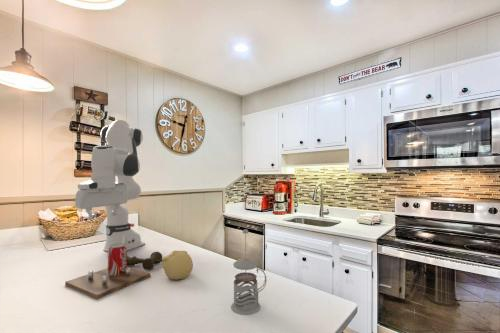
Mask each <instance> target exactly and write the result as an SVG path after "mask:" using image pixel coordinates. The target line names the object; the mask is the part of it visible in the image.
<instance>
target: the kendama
mask: <svg viewBox="0 0 500 333" xmlns="http://www.w3.org/2000/svg"><path fill="white" fill-rule="evenodd" d="M162 259H163V255H162V253H161V252H160V251H152V252H151V254H150V257H148V258H138V257H137V256H136V255H134V256H129V255H127V267H129V266H131V267H134V266H137V265H140V264H141V265H142V266H141V267H142V269H143V270H145V271H151V270H153V269H154V267H155V265H159V264H160V263H163V262H162ZM158 263H159V264H158Z"/></svg>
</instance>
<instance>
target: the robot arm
mask: <svg viewBox="0 0 500 333" xmlns="http://www.w3.org/2000/svg"><path fill="white" fill-rule="evenodd" d="M100 138H101V141H102V143H104V144H107V145H96V146H94V147H93V149H92V151H91V152H92V153H91V161H90V162H91V163H90V164H91V165H90V166H91V170H92V172H91V175H90V179H89V180H87V181H83V182H80V183H78V184H77V189H78V190H77V192H75V193H76V194H75V198H74V199H75V200H74V201H75V202H74V206H75V208H76V209H79V210H83V209H84V210H85V212H86V214H87V215H88V219H89V220H94V219H95V217H96V215H95V214H94V213H93V212H92V210H93V208H99V207H101V208H102V207H104V208H105V211H106V225H105V234H106V236H105V243H104V247H103V250H102V251H104V252H108V250H109V248H110V246H111V245H113V244H119V243H123V244H125V246H126V248H127V251H130V250H133V249H135V248H138V247H141V246H143V245H145V244H146V242H145V241H143V240H141V238H142V237H141V235H140V233H138V232H137V231H135V230H133V228H134V227H135V223H133V222H132V223H130V222H129V210H128V208H126V207H125V206H123V205H122V204H127V203H128V201H133V200H137V199H138V198H140V195H141V192H142V189H141V186H140V185H139V183H138V182H136V181H135V180H134V176H135V175H137V174H138V173H139V172H140V168H141V163H140V160H139V158H138V150H137V147H139V146H140V145H142V142H143V138H144V137H143V132H142V130H141V129H140V128H136V127H131V126H130V125H129V123H128V122H127V121H125V120H123V119H117V120H114V121H113V122H111V124H110V125H105V126H103V127H102V128H101V131H100ZM116 177H117V181H116Z"/></svg>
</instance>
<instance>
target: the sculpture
mask: <svg viewBox="0 0 500 333" xmlns="http://www.w3.org/2000/svg"><path fill="white" fill-rule="evenodd" d="M161 263H162V265H161V266H162V267H161V268H162V269H163V272H164V274H165V276H166V277H167V278H168V279H170V280H182V279H186V278H188V277H189V276H190V274H191V273H192V271H193V267H194V262H193V259H192V257H191V256H190V254H188V251H186V250H173V251H171V253H169V254H167V255H165V256H164V257H163V256H162V262H161Z"/></svg>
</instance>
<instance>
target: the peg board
mask: <svg viewBox="0 0 500 333" xmlns="http://www.w3.org/2000/svg"><path fill="white" fill-rule="evenodd" d="M149 278H151V272H147V271H143V270H140V269H137V268H133V267H130V266H127V268H126V272H125V273H124V274H123V275H120V276H111V275H109V274H108V267H106V268H103V269H99V270H97V271H94V270H90V271H88V274H85V275H82V276H79V277H76V278H72V279H68V280H66V281H65V283H64V284H65V285H64V286H65V287H68V288H70V289H72V290H74V291H77V292H79V293H82V294H84V295H85V296H88V297H89V298H90V297H91V298H92V299H95V300H99V299H101V298H103V297H107V296H109V295H111V294H113V293H115V292H118V291H120V290H122V289H125V288H128V287H130V286H133V285H135V284H137V283H139V282H142V281H144V280H147V279H149Z"/></svg>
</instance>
